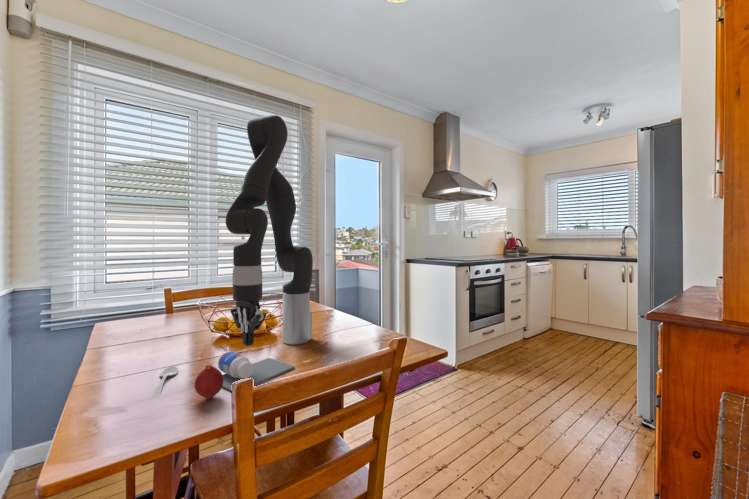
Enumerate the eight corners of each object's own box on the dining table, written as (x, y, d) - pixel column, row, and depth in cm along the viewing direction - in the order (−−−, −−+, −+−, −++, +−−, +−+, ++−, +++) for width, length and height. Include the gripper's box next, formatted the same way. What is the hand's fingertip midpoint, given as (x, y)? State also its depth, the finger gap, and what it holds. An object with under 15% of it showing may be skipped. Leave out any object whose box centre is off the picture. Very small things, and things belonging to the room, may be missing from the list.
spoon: (181, 370, 90) (180, 364, 90) (159, 407, 71) (159, 399, 71) (163, 371, 89) (163, 366, 89) (136, 410, 69) (136, 402, 69)
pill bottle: (234, 347, 89) (254, 355, 83) (238, 364, 90) (258, 373, 84) (214, 357, 84) (234, 366, 78) (219, 375, 86) (239, 386, 80)
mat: (268, 359, 97) (268, 357, 97) (294, 368, 91) (294, 366, 91) (209, 382, 82) (209, 379, 82) (236, 394, 76) (236, 391, 76)
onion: (201, 392, 76) (201, 359, 76) (227, 392, 77) (227, 358, 76) (190, 405, 70) (189, 369, 70) (217, 404, 71) (217, 368, 71)
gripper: (275, 282, 88) (275, 345, 89) (244, 278, 95) (245, 337, 96) (250, 285, 82) (251, 354, 82) (220, 281, 89) (221, 344, 90)
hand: (248, 344), depth 89 cm, fingers closed
